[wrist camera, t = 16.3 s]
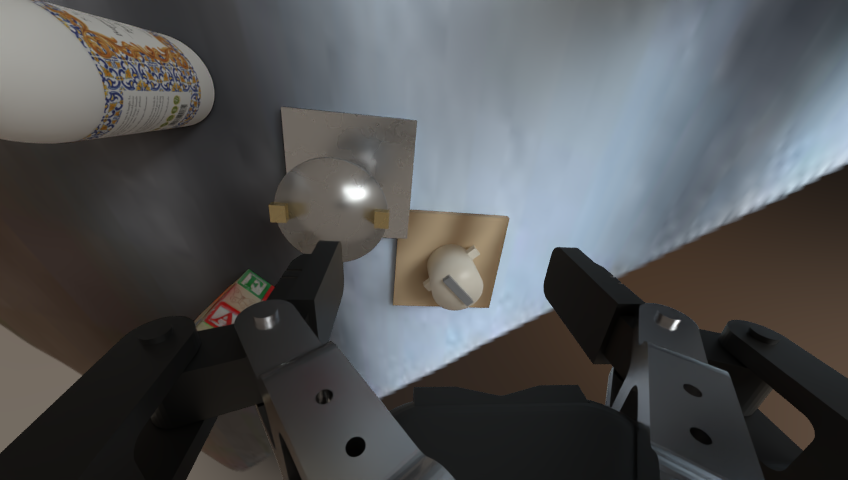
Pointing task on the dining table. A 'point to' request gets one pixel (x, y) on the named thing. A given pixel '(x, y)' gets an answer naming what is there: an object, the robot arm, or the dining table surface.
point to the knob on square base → (344, 179)
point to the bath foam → (92, 77)
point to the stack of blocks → (234, 301)
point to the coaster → (438, 231)
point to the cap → (454, 277)
